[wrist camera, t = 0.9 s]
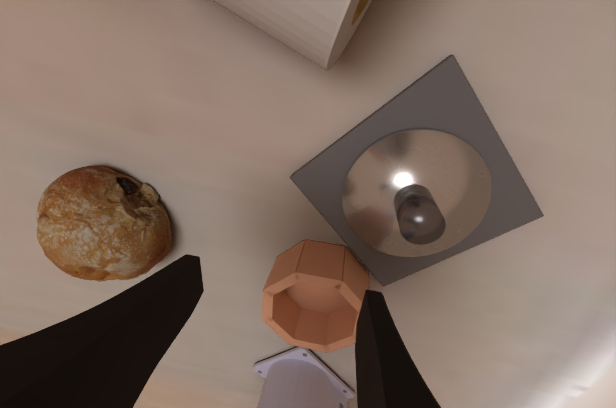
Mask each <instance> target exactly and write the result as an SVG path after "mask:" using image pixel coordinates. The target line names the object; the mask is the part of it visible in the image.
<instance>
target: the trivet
mask: <svg viewBox="0 0 616 408" xmlns="http://www.w3.org/2000/svg"><path fill="white" fill-rule="evenodd" d="M420 127H421V128H433V129H439V130H443V131H446V132H449V133H451V134H453V135H455V136H457V137H459V138H461V139H462V140H464V141H465V142H466V143H468V144H469V145H470V146H472V147H473V148H474V149H475V150H476V151H477V152H478V153H479V154H480V156H481V157H482V159H483V160H484V162H485V164H486V166H487V168H488V170H489V174H490V177H491V185H492V190H491V199H490V203H489V206H488V209H487V211H486V213H485V215H484V217H483V219H482V221H481V222H480V223H479V225H478V226H477V227H476V228H475V229H474V230H473V232H472V233H471V234H470V235H468V236H467V237H466V238H465V239H464V240H462V241H461V242H459V243H458V244H456V245H454V246H452V247H450V248H448V249H446V250H444V251H441V252H438V253H435V254H431V255H426V256H419V257H401V256H394V255H390V254H386V253H383V252H380V251H378V250H376V249H374V248H372V247H370V246H369V245H367V244H366V243H365V242H363V241H362V240H361V239H360V238H359V237H358V236H357V235H356V234H355V233H354V232H353V230H352V229H351V228H350V226H349V224H348V222H347V220H346V217H345V214H344V210H343V202H342V197H343V187H344V182H345V178H346V176H347V173H348V171H349V169H350V167H351V165H352V163H353V162H354V161H355V159H356V158H357V157H358V155H359V154H360V153H361V152H362V151H363V150H364V149H365V148H367V147H368V146H369V145H370V144H371V143H373V142H375V141H376V140H378V139H379V138H381V137H383V136H385V135H388V134H390V133H393V132H396V131H399V130H403V129H409V128H420ZM290 179H291V180H292V181H293V182H294V183H295V184H296V186H297V187H298V188H299V189H300V190H301V191H302V193H303V194H304V195H305V196H306V197H307V198H308V200H309V201H310V202H311V203H312V204H313V205H314V207H315V208H316V209H317V210H318V211H319V212H320V214H321V215H322V216H323V217H324V218H325V219H326V221H327V222H328V223H329V224H330V225H331V226H332V227H333V229H334V230H335V231H336V232H337V233H338V234H339V236H340V237H341V238H342V239H343V240H344V241H345V243H346V244H347V245H348V246H349V247H350V248H351V250H352V251H353V252H354V253H355V254H356V255H357V257H358V258H359V259H360V260H361V261H362V262H363V264H364V265H365V266H366V267H367V268H368V269H369V271H370V272H371V273H372V274H373V275H374V276H375V278H376V279H377V280H378V281H379V282H380V283H381V285H382V286H386V285H388V284H390V283H393V282H395V281H397V280H399V279H402V278H404V277H406V276H408V275H411V274H413V273H415V272H418V271H420V270H422V269H424V268H427V267H429V266H431V265H434V264H436V263H438V262H440V261H443V260H445V259H447V258H449V257H452V256H454V255H456V254H459V253H461V252H463V251H465V250H468V249H470V248H472V247H474V246H477V245H479V244H481V243H484V242H486V241H488V240H490V239H493V238H495V237H497V236H500V235H502V234H504V233H506V232H509V231H511V230H513V229H515V228H518V227H520V226H522V225H525V224H527V223H529V222H531V221H534V220H536V219H538V218H540V217H543V216H544V215H543V213H542V212H541V210H540V208H539V206H538V205H537V203H536V201H535V199H534V197H533V196H532V194H531V192H530V190H529V189H528V187H527V185H526V183H525V181H524V180H523V178H522V176H521V174H520V173H519V171H518V169H517V167H516V165H515V164H514V162H513V160H512V158H511V157H510V155H509V153H508V151H507V149H506V148H505V146H504V144H503V142H502V140H501V139H500V137H499V135H498V133H497V132H496V130H495V128H494V126H493V124H492V123H491V121H490V119H489V117H488V116H487V114H486V112H485V110H484V108H483V107H482V105H481V103H480V101H479V100H478V98H477V96H476V94H475V92H474V91H473V89H472V87H471V85H470V83H469V82H468V80H467V78H466V76H465V75H464V73H463V71H462V69H461V67H460V66H459V64H458V62H457V60H456V59H455V57H454V55H450V56H448V57H447V58H446V59H444V60H443V61H442V62H440V63H439V64H438V65H436V66H435V67H434V68H432V69H431V70H430V71H428V72H427V73H426V74H424V75H423V76H422V77H420V78H419V79H418V80H416V81H415V82H414V83H412V84H411V85H410V86H408V87H407V88H406V89H404V90H403V91H402V92H400V93H399V94H398V95H396V96H395V97H394V98H393V99H391V100H390V101H389V102H387V103H386V104H385V105H383V106H382V107H381V108H379V109H378V110H377V111H375V112H374V113H373V114H371V115H370V116H369V117H367V118H366V119H365V120H363V121H362V122H361V123H359V124H358V125H357V126H355V127H354V128H353V129H351V130H350V131H349V132H347V133H346V134H345V135H343V136H342V137H341V138H339V139H338V140H337V141H336V142H334V143H333V144H332V145H330V146H329V147H328V148H326V149H325V150H324V151H322V152H321V153H320V154H318V155H317V156H316V157H314V158H313V159H312V160H310V161H309V162H308V163H306V164H305V165H304V166H302V167H301V168H300V169H298V170H297V171H296V172H294V173H293V174H292V175H291V176H290Z"/></svg>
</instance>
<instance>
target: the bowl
mask: <svg viewBox="0 0 616 408" xmlns="http://www.w3.org/2000/svg"><path fill="white" fill-rule="evenodd" d="M366 290H369V274H368V272H367V271H366V270H365V269H364V267H363V266H362V265H361V264H360V263H359V262H358V260H357V259H356V258H355V257H354V256H353V255H352V254H351V252H350V251H349V250H348V249H347V248H346V247H345V246H340V245H334V244H329V243H323V242H317V241H311V240H304V241H302V242H300V243H299V244H297V245H295V246H294V247H292V248H291V249H289V250H287V251H286V252H284V253H282V254H281V255H279V256H277V258H276V261H275V263H274V265H273V268H272V270H271V272H270V275H269V277H268V279H267V282H266V284H265V287H264V289H263V310H262V319H263V321H264V322H265V323H266V324H267V325H269V326H270V327H271V328H272V329H273V330H274V331H275V332H276V333H277V334H278V335H279V336H281V337H282V338H283V339H284V340H285V341H286V342H287V343H288V344H290V345H294V346H299V347H304V348H308V349H313V350H317V351H322V352H332V351H335V350H337V349H340V348H343V347H346V346H349V345H351V344H354V343H355V342H356V325H357V320H358V316H359V313H360V309H361V305H362V302H363V298H364V294H365V291H366Z"/></svg>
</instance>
